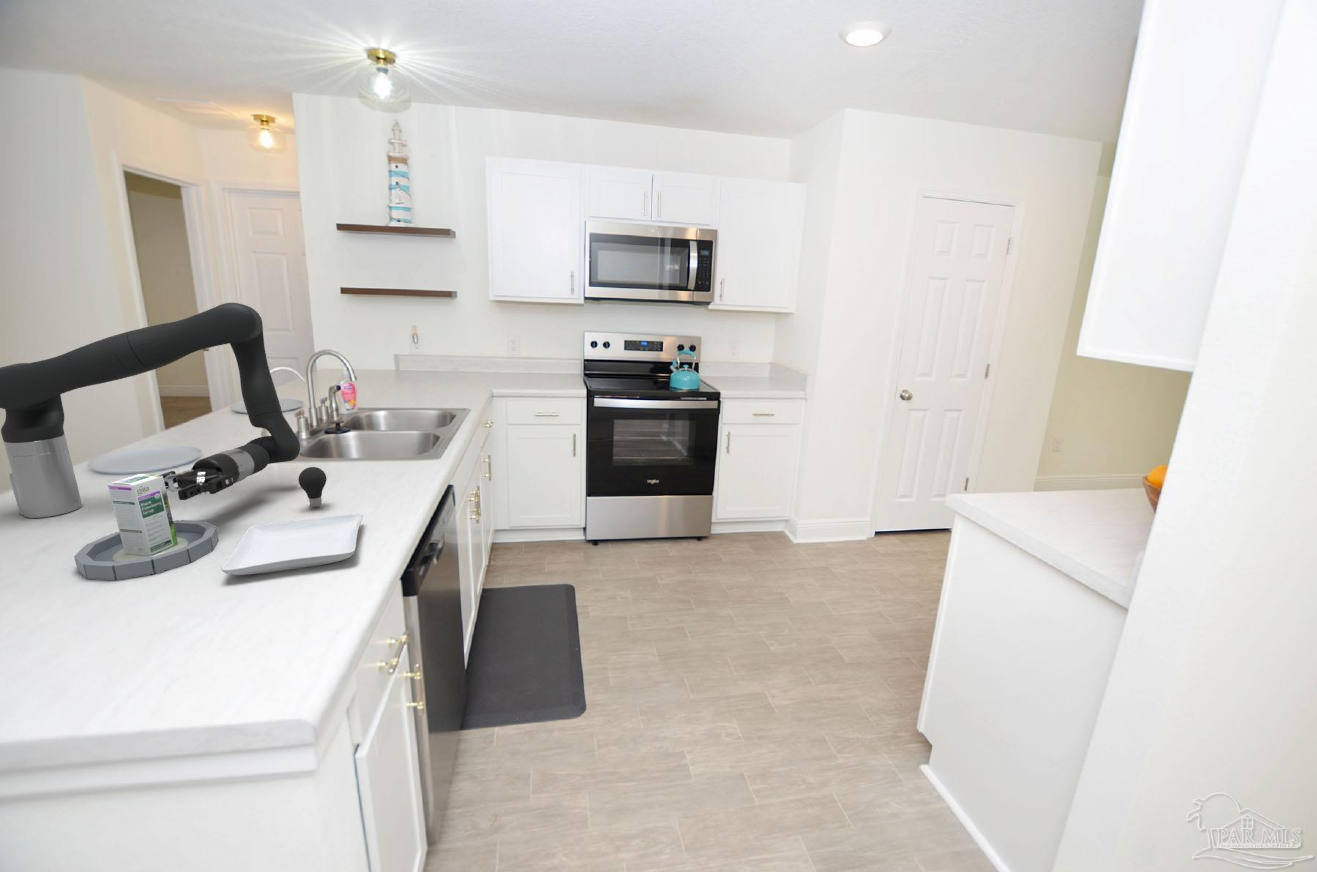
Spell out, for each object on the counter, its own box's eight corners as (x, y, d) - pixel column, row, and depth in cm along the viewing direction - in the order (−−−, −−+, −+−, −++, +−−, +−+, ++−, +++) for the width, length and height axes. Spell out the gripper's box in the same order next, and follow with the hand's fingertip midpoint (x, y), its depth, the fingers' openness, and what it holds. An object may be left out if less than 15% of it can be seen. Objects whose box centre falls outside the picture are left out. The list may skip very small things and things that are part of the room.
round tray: (47, 577, 101) (43, 562, 101) (149, 530, 121) (146, 518, 120) (156, 582, 101) (152, 567, 100) (241, 534, 120) (239, 522, 119)
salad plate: (251, 539, 119) (248, 523, 118) (364, 525, 127) (363, 511, 126) (221, 587, 100) (218, 570, 99) (357, 567, 108) (355, 551, 107)
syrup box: (149, 557, 107) (133, 484, 104) (123, 554, 108) (106, 482, 105) (178, 544, 113) (164, 474, 109) (153, 541, 114) (138, 472, 110)
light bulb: (301, 513, 132) (295, 472, 129) (303, 505, 136) (297, 465, 134) (329, 509, 134) (324, 469, 132) (330, 501, 139) (325, 462, 136)
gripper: (190, 451, 127) (120, 475, 111) (252, 454, 126) (190, 478, 110) (196, 483, 129) (128, 511, 113) (257, 486, 128) (197, 514, 112)
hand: (159, 494), depth 112 cm, fingers open, 8 cm apart
